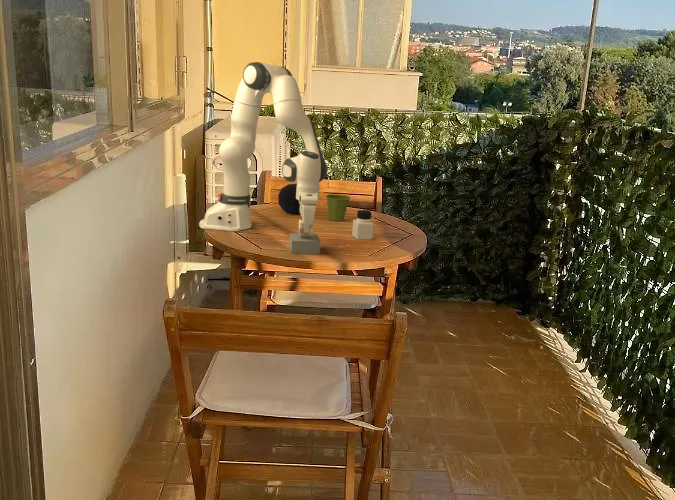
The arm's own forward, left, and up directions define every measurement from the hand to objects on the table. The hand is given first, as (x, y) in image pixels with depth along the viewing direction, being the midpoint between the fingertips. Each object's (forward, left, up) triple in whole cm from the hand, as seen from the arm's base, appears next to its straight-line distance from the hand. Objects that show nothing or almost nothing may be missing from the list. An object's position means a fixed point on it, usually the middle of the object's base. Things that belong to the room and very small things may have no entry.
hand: (305, 229), depth 247 cm
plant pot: (+20, +51, -8) cm, 55 cm away
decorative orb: (0, +62, -8) cm, 62 cm away
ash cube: (0, 0, -2) cm, 2 cm away
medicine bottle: (+27, +21, -8) cm, 35 cm away
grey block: (0, 0, -8) cm, 8 cm away
